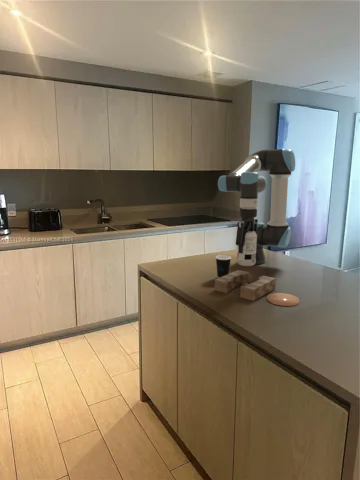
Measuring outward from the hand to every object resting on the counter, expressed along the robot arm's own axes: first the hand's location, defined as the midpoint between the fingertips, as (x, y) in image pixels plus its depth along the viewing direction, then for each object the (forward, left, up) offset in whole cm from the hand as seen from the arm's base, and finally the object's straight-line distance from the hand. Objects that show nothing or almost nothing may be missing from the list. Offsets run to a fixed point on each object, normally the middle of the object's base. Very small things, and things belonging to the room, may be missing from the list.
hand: (246, 257), depth 156 cm
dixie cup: (-7, -17, -15) cm, 24 cm away
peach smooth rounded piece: (+1, +19, -15) cm, 24 cm away
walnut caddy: (0, 0, -15) cm, 15 cm away
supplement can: (0, 0, -3) cm, 3 cm away
